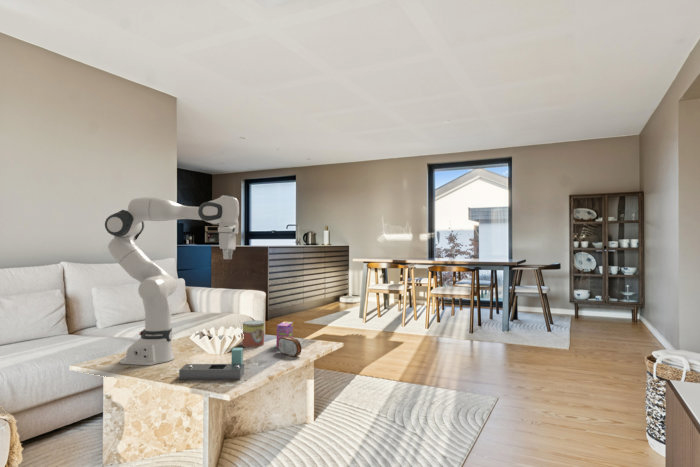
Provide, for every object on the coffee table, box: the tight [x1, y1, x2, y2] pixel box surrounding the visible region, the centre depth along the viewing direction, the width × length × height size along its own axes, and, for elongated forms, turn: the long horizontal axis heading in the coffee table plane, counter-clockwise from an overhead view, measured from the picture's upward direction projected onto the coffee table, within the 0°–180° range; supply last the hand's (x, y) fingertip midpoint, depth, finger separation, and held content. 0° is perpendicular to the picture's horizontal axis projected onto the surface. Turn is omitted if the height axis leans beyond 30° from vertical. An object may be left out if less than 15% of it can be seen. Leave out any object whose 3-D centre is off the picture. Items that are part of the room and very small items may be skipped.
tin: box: [278, 336, 302, 357], centre depth 206 cm, size 15×3×8 cm, turn 48°
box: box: [275, 321, 294, 349], centre depth 224 cm, size 10×6×12 cm, turn 168°
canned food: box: [242, 319, 265, 348], centre depth 225 cm, size 11×11×12 cm
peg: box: [230, 347, 244, 364], centre depth 181 cm, size 4×4×9 cm
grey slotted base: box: [178, 363, 245, 381], centre depth 172 cm, size 24×8×4 cm, turn 93°
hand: (227, 259), depth 197 cm, fingers open, 8 cm apart
